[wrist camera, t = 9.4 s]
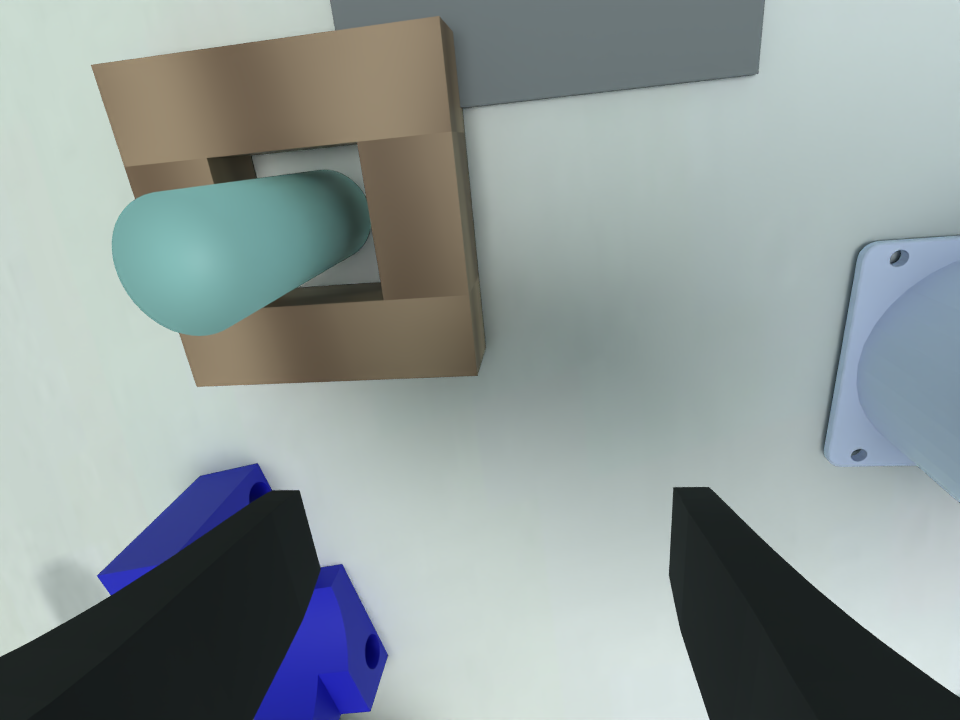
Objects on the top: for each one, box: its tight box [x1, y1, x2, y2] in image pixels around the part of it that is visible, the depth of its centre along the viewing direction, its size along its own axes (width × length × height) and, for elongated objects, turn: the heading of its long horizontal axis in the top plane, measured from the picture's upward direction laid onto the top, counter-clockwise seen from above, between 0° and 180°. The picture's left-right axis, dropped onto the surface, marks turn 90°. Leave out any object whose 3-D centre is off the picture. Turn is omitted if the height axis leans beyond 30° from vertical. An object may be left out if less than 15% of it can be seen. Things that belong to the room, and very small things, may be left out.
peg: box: [112, 170, 371, 336], centre depth 15 cm, size 3×3×8 cm
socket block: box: [91, 16, 486, 387], centre depth 17 cm, size 10×10×2 cm
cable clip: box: [97, 463, 388, 720], centre depth 22 cm, size 12×4×6 cm, turn 17°
